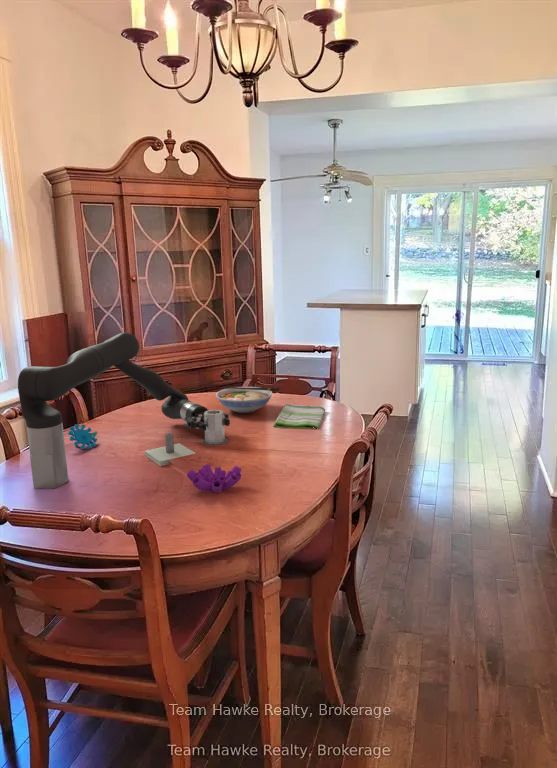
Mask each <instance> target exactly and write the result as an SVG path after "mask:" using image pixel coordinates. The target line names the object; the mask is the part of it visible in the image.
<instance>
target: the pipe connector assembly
mask: <svg viewBox="0 0 557 768" xmlns="http://www.w3.org/2000/svg"><path fill="white" fill-rule="evenodd" d="M242 470H243V469H242V468H241V467H239V466H237V465H234V466H233V467H232V469H231V470H228V471H227V470H224V469H223V470H222V467H221V466H220V467H214V471H213V469H212V467H211V465H210V463H209V464H205V465H202V468H199V469H198V471H195V470H194V469H191V470H189V471H188V472H187V473H186V477H187V479H189V480H190V482H191V483H192V484H193V486H194V487H195V488H196V489H198V490H199V491H202V492H213V493H217V494H218V493H221V492H222V491H224V490H227V489H231V488H232V487H233V486H235V485H236V484H237V483H238V482H239V481H240V479H241V478H242V474H241V472H242ZM226 471H227V473H226Z"/></svg>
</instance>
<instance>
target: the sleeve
mask: <svg viewBox="0 0 557 768" xmlns="http://www.w3.org/2000/svg"><path fill="white" fill-rule="evenodd" d="M224 413H225V412H224V411H223V410H221V409H208V411H205V412H204V423H205V424H206V430H205V431H204V439H205V442H206V443H208V444H220V443H223V442H224V441H225V438H226V437H225V435H226V434H225V431H226V430H225V425H224Z"/></svg>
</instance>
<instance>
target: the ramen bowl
mask: <svg viewBox="0 0 557 768" xmlns="http://www.w3.org/2000/svg"><path fill="white" fill-rule="evenodd" d="M220 389H221V390H219V391H217V392H216V394H215V397H216V398H217V400H218V401H219V403H220V404H221V405H222V406H223V407H225V409H228V410H230V411H233V412H236V413H238V414H248V413H249V414H250V413H253V412H254V411H257V410H259V409H262V408H263V407H264V406H266V405H267V404H268V403H269V401H270V400H271V397H272V395H273V392H274V391H275V392H279V390H280V387H259V386H258V387H257V386H239V387H238V386H237V387H227V386H222V387H220Z"/></svg>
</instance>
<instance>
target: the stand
mask: <svg viewBox="0 0 557 768" xmlns="http://www.w3.org/2000/svg"><path fill="white" fill-rule="evenodd" d="M200 442H201V444H202V445H204V446H210V447H219V446H223V445H226V444H228V443H229V438H226V437H225V441H224V442H223V443H220V444H208V443H206V442H205V438H204V439H202V440H201V441H200Z"/></svg>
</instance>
